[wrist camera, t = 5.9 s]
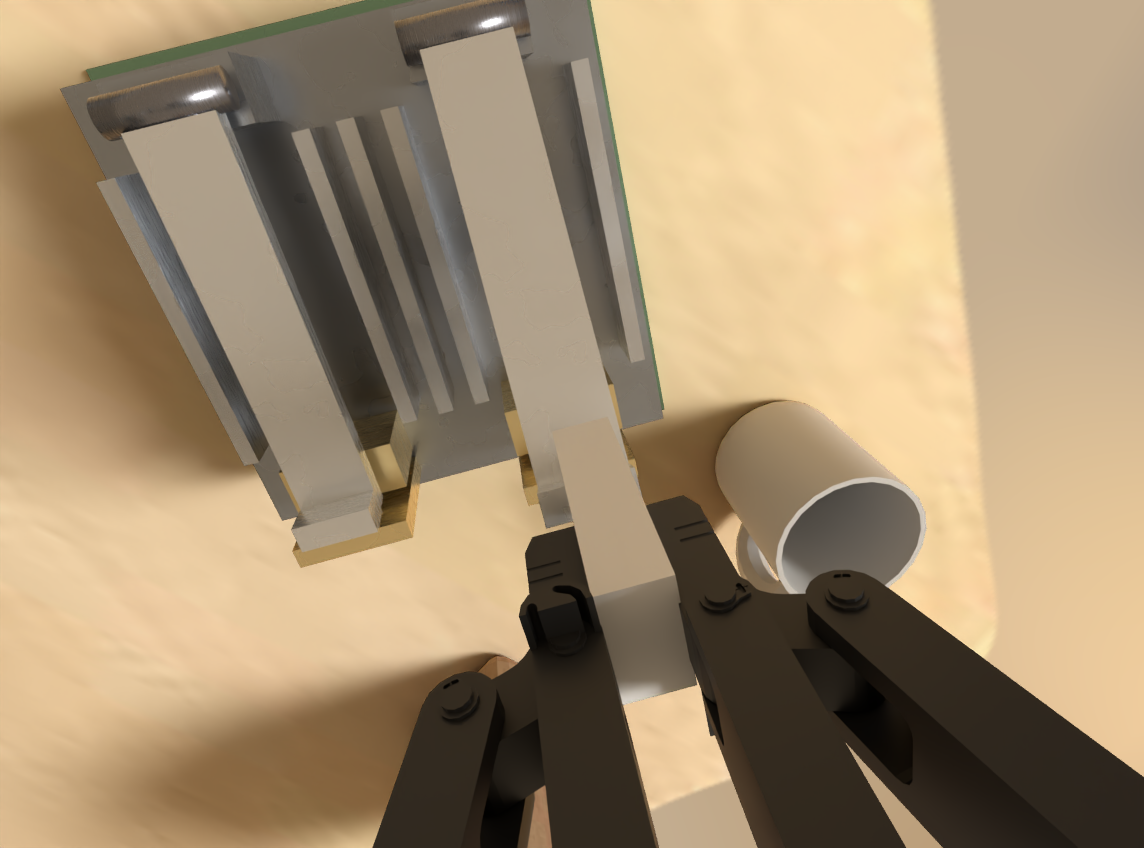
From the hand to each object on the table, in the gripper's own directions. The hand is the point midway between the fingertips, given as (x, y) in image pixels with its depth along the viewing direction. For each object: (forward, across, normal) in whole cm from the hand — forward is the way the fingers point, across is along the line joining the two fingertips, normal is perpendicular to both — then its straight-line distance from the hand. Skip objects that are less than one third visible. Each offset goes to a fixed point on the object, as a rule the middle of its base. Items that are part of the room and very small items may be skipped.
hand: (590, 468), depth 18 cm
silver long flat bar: (+5, 0, +4) cm, 7 cm away
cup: (+17, +10, -13) cm, 24 cm away
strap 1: (+8, -9, +4) cm, 13 cm away
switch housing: (+17, -5, +4) cm, 18 cm away
